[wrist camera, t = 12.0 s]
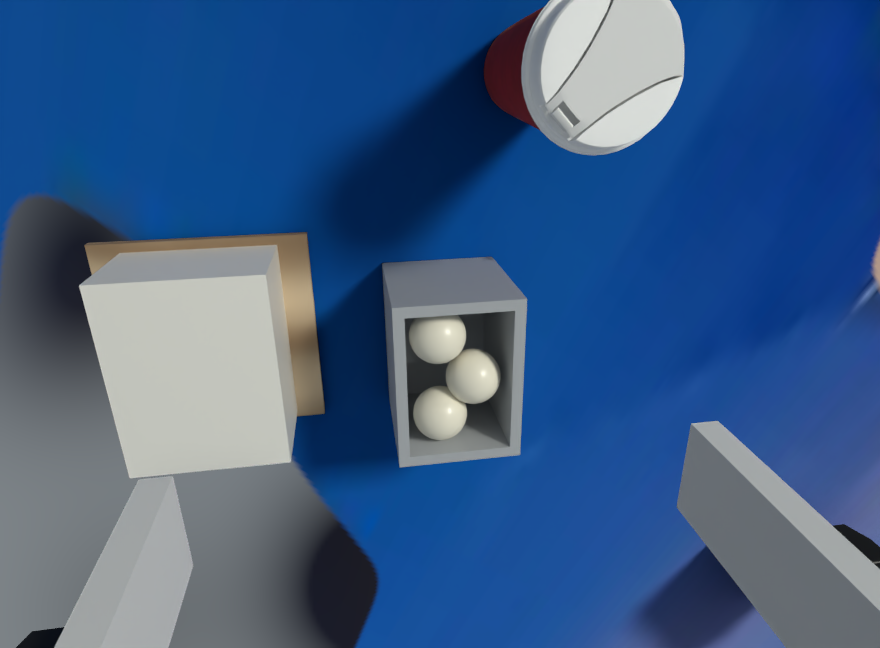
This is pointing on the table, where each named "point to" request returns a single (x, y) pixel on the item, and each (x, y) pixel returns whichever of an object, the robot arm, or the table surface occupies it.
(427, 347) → the dough box
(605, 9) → the paper cup
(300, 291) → the trivet
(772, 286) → the table surface
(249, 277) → the lid
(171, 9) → the table surface
